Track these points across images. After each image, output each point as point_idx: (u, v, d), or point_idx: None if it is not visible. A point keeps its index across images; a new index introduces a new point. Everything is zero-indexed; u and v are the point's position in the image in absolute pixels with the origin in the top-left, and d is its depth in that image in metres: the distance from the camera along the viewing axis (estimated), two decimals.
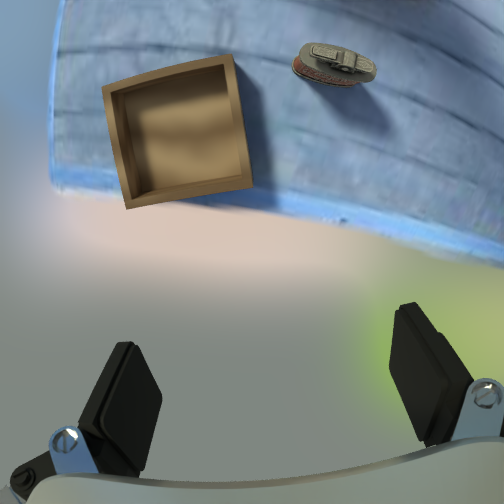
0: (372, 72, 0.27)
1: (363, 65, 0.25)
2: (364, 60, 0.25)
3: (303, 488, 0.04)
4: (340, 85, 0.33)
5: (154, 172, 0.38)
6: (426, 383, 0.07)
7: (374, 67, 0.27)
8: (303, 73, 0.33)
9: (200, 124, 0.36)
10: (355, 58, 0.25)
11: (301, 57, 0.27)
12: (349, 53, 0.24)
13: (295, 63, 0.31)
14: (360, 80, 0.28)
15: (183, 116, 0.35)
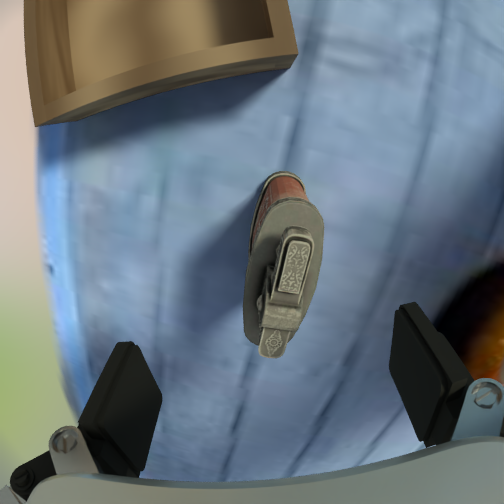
0: None
1: (271, 342, 0.14)
2: (283, 343, 0.14)
3: (303, 488, 0.04)
4: (250, 258, 0.22)
5: None
6: (426, 383, 0.07)
7: None
8: (265, 194, 0.19)
9: (160, 15, 0.15)
10: (285, 329, 0.13)
11: (285, 204, 0.14)
12: (295, 320, 0.13)
13: (283, 181, 0.18)
14: (245, 320, 0.16)
15: None
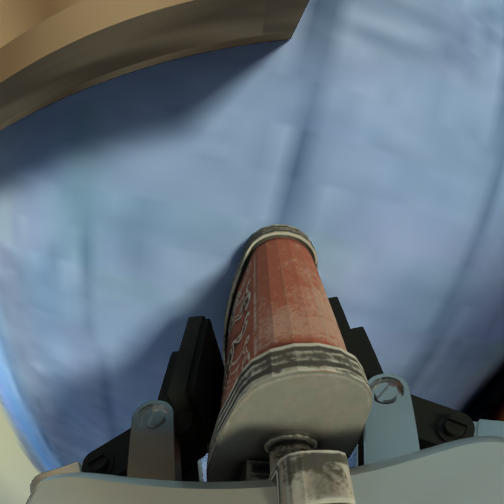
0: None
1: None
2: None
3: None
4: (225, 361, 0.13)
5: None
6: None
7: None
8: (246, 273, 0.11)
9: None
10: None
11: (287, 376, 0.05)
12: None
13: (280, 255, 0.10)
14: None
15: None
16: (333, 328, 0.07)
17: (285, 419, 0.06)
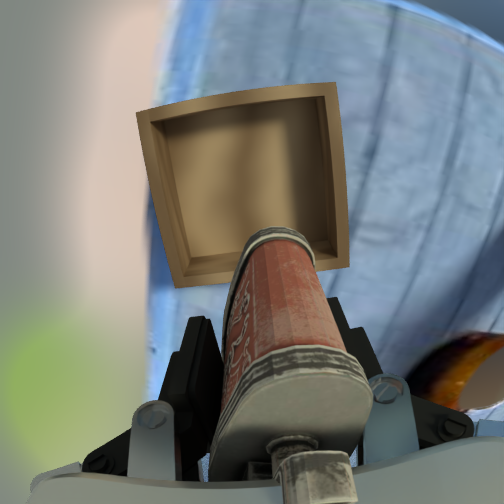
0: None
1: None
2: None
3: None
4: (224, 363, 0.13)
5: (191, 139, 0.26)
6: None
7: None
8: (245, 275, 0.11)
9: (256, 205, 0.28)
10: None
11: (289, 378, 0.05)
12: None
13: (278, 257, 0.10)
14: None
15: (269, 184, 0.28)
16: (333, 330, 0.07)
17: (287, 420, 0.06)
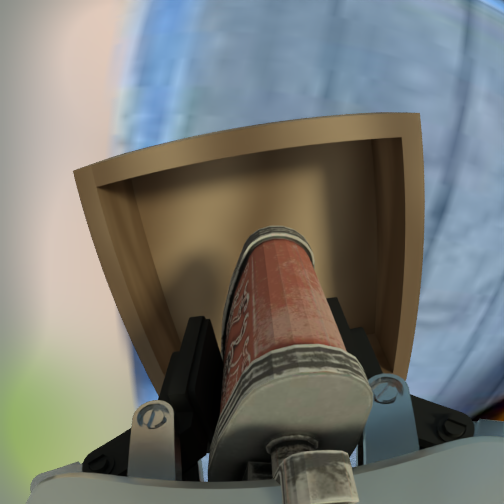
0: None
1: None
2: None
3: None
4: None
5: (173, 199, 0.17)
6: None
7: None
8: (244, 275, 0.11)
9: None
10: None
11: (289, 378, 0.05)
12: None
13: (278, 256, 0.10)
14: None
15: None
16: (333, 329, 0.07)
17: (287, 420, 0.06)
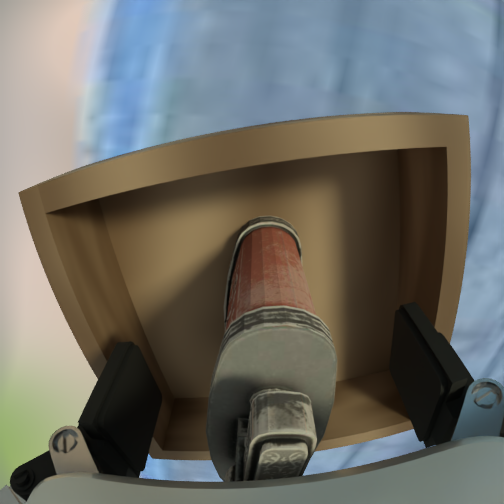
0: None
1: None
2: None
3: (303, 488, 0.04)
4: None
5: (149, 221, 0.13)
6: (426, 383, 0.07)
7: None
8: (237, 261, 0.12)
9: None
10: None
11: (256, 332, 0.06)
12: None
13: (262, 241, 0.11)
14: (219, 469, 0.09)
15: None
16: (303, 296, 0.08)
17: (262, 373, 0.07)
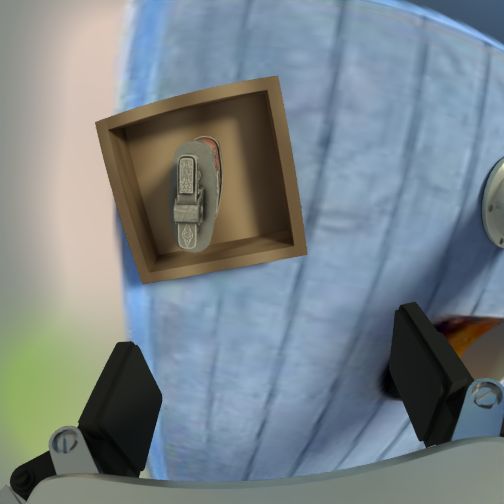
0: None
1: (185, 234, 0.21)
2: (193, 235, 0.21)
3: (303, 488, 0.04)
4: None
5: (150, 142, 0.27)
6: (426, 383, 0.07)
7: (201, 248, 0.23)
8: None
9: None
10: (191, 222, 0.20)
11: (184, 144, 0.20)
12: (194, 212, 0.20)
13: (198, 139, 0.25)
14: (174, 232, 0.23)
15: (225, 179, 0.29)
16: None
17: None
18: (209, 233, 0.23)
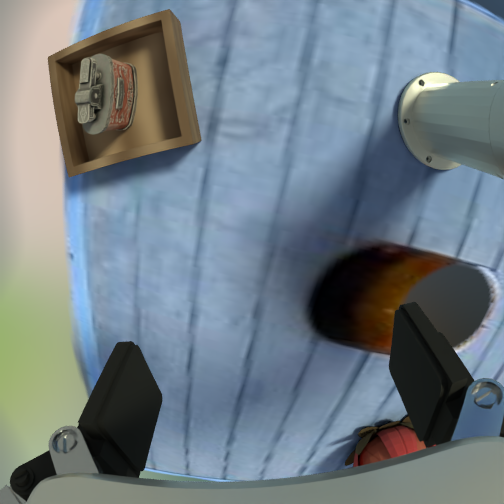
0: (93, 129, 0.26)
1: (82, 112, 0.23)
2: (87, 112, 0.23)
3: (303, 488, 0.04)
4: None
5: None
6: (426, 383, 0.07)
7: (99, 130, 0.26)
8: None
9: None
10: (85, 102, 0.23)
11: (93, 56, 0.23)
12: (87, 94, 0.22)
13: None
14: None
15: (139, 95, 0.31)
16: None
17: None
18: (105, 118, 0.26)
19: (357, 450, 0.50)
